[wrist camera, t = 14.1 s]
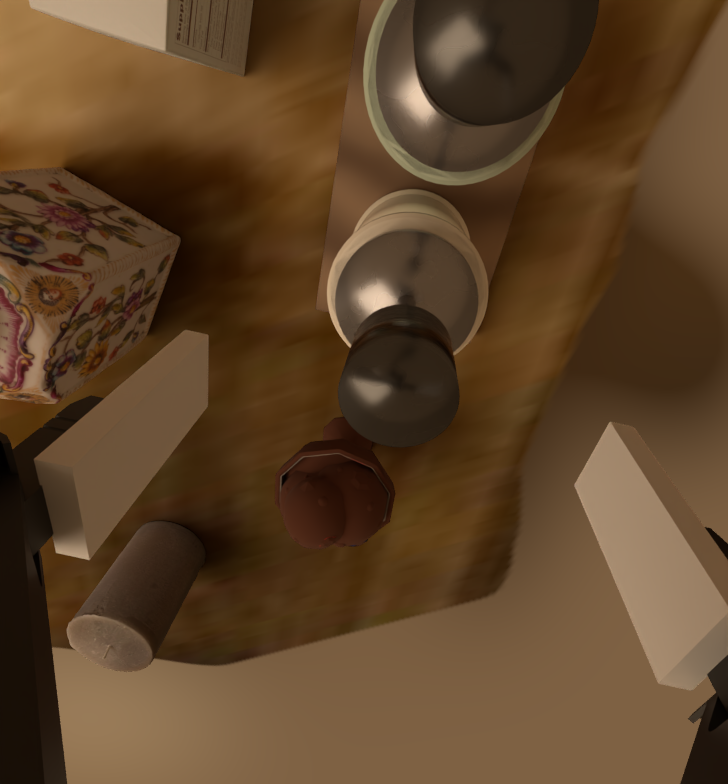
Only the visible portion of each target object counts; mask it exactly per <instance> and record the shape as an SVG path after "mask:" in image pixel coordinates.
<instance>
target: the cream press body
mask: <svg viewBox="0 0 728 784" xmlns="http://www.w3.org/2000/svg"><path fill="white" fill-rule="evenodd" d="M398 229H418V230H424V231H427V232H431V233H434V234H436V235H438V236H440V237H442V238H444V239H445V240H447V241H449V242H450V243H451V244H452V245H454V246H455V247H456V248H457V249H458V250H459V251H460V252H461V253H462V255H463V256H464V257H465V259H466V260H467V262H468V263H469V265H470V268H471V270H472V272H473V274H474V277H475V281H476V284H477V289H478V311H477V316H476V320H475V323H474V325H473V327H472V330H471V332H470V333H469V335H468V337H467V338H466V340H465V341H464V342H463V344H462V345H461V346H460V347H459V348H458V349H457V350H456V351H455V352H453V354H454V355H456V354H457V353H458V352H459V351H461V350H462V349H463V348H464V347H465V346H466V345H467V344H468V343H469V342H470V340H471V339H472V338H473V336H474V335H475V334H476V332H477V330H478V329H479V327H480V325H481V323H482V320H483V318H484V315H485V312H486V308H487V302H488V280H487V274H486V270H485V267H484V264H483V262H482V259H481V257H480V255H479V253H478V251H477V250H476V248H475V246H474V245H473V243H472V242H471V241H470V236H469V232H468V229H467V226H466V224H465V222H464V220H463V218H462V217H461V215H460V213H459V212H458V211H457V210H456V208H455V207H454V206H453V205H452V204H451V203H450V202H448V201H447V200H446V199H444V198H443V197H441V196H439V195H437V194H435V193H433V192H430V191H426V190H421V189H403V190H398V191H395V192H392V193H389V194H387V195H385V196H383V197H381V198H380V199H378V200H377V201H376V202H374V203H373V204H372V205H371V206H370V207H369V208H368V209H367V210H366V211H365V213H364V214H363V215H362V217H361V218H360V220H359V222H358V223H357V225H356V227H355V230H354V233H353V235H352V236H351V237H350V238H349V239H348V240H347V241H346V242H345V244H344V245H343V246H342V248H341V249H340V251H339V252H338V254H337V256H336V258H335V260H334V262H333V264H332V267H331V270H330V273H329V278H328V284H327V302H328V308H329V312H330V316H331V319H332V321H333V324H334V326H335V328H336V330H337V331H338V333H339V335H340V336H341V338H342V339H343V340H344V341H345V343H346V344H347V345H348V346H349V347H350V348H351V344H350V343H349V341H348V340H347V339H346V337H345V335H344V334H343V332H342V330H341V328H340V325H339V322H338V319H337V315H336V309H335V294H336V288H337V283H338V280H339V277H340V275H341V272H342V271H343V269H344V267H345V265H346V263H347V262H348V260H349V259H350V257H351V256H352V255H353V253H354V252H355V251H356V250H357V249H358V248H359V247H360V246H362V245H363V244H364V243H366V242H367V241H368V240H370V239H372V238H373V237H375V236H377V235H380V234H382V233H385V232H388V231H392V230H398Z"/></svg>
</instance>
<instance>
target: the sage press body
mask: <svg viewBox="0 0 728 784" xmlns="http://www.w3.org/2000/svg"><path fill="white" fill-rule="evenodd" d="M397 1H398V0H384V1H383V3H382V5H381V6H380V8H379V11H378V13H377V15H376V17H375V20H374V22H373V25H372V28H371V31H370V34H369V37H368V42H367V46H366V51H365V58H364V68H363V85H364V94H365V102H366V106H367V110H368V114H369V117H370V120H371V123H372V126H373V128H374V130H375V132H376V134H377V136H378V138H379V140H380V142H381V143H382V145H383V146H384V148H385V149H386V151H387V152H388V153H389V154H390V155H391V157H392V158H393V159H394V160H395V161H396V162H397V163H398V164H400V165H401V166H402V167H403V168H404V169H406V170H407V171H409V172H410V173H412V174H413V175H415V176H417V177H419V178H422V179H424V180H426V181H430V182H433V183H436V184H443V185H466V184H473V183H477V182H480V181H484V180H486V179H489V178H491V177H494V176H496V175H498V174H500V173H501V172H503V171H505V170H506V169H508V168H510V167H511V166H512V165H514V164H515V163H516V162H518V161H519V160H520V159H521V158H522V157H523V156H524V155H525V154H526V153H527V152H529V151H530V149H531V148H532V147H533V146H534V145H535V144H536V142H537V141H538V140H539V139H540V137H541V136H542V134H543V133H544V131H545V130H546V129H547V127H548V125H549V124H550V122H551V120H552V118H553V116H554V114H555V112H556V110H557V107H558V105H559V102H560V100H561V97H562V94H563V91H564V87H565V86H564V87H563V89H562V90H561V91H560V92H559V93H558V94H557V95H556V96H555V97H554V98H553V99H552V100H551V101H550V103H549V106H548V108H547V110H546V112H545V113H544V115H543V117H542V119H541V120H540V122H539V123H538V125H537V126H536V128H535V129H534V131H533V132H532V133H531V134H530V135H529V137H528V138H527V139H526V140H525V141H524V142H523V143H522V144H521V145H520V146H519V147H518V148H517V149H516V150H514V151H513V152H512V153H510V154H509V155H508V156H506V157H505V158H503V159H501V160H500V161H498V162H496V163H494V164H492V165H489V166H487V167H485V168H481V169H477V170H474V171H467V172H448V171H441V170H438V169H435V168H431V167H429V166H427V165H425V164H423V163H421V162H419V161H418V160H416V159H415V158H413V157H412V156H410V155H409V154H408V153H407V152H406V151H405V150H404V149H403V148H402V147H401V146H400V145H399V143H398V142H397V141H396V140H395V138H394V137H393V135H392V134H391V132H390V131H389V129H388V127H387V124H386V122H385V120H384V118H383V115H382V112H381V109H380V105H379V101H378V96H377V89H376V60H377V52H378V47H379V43H380V38H381V35H382V32H383V29H384V26H385V23H386V21H387V19H388V17H389V15H390V13H391V11H392V9H393V7H394V5H395V4H396V2H397Z"/></svg>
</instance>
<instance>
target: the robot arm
mask: <svg viewBox="0 0 728 784" xmlns="http://www.w3.org/2000/svg"><path fill="white" fill-rule="evenodd" d="M207 406H208V335H207V334H202V333H198V332H193V331H189V330H184V331H183V332H182V333H181V334H180V335H178V336H177V337H176V338H175V339H174V340H173V341H171V342H170V343H169V344H168V345H167V346H165V347H164V348H163V349H162V350H161V351H160V352H158V353H157V354H156V355H155V356H154V357H153V358H151V359H150V360H149V361H148V362H147V363H146V364H144V365H143V366H142V367H141V368H140V369H139V370H137V371H136V372H135V373H134V374H133V375H132V376H130V377H129V378H128V379H127V380H126V381H125V382H123V383H122V384H121V385H120V386H119V387H118V388H116V389H115V390H114V391H113V392H112V393H110V394H109V395H108V396H107V397H106V398H100V397H95V396H88V397H86V398H84V399H81V400H79V401H76V402H74V403H72V404H70V405H68V406H67V407H66V408H65V409H63V410H62V411H61V412H60V413H58V414H57V415H56V417H55V418H52V419H51V420H49V421H48V422H47V423H46V424H44V425H43V428H39V429H38V430H37V431H35V432H34V433H33V434H32V435H30V436H29V437H28V438H27V439H25V440H24V441H23V442H21V443H20V444H19V445H18V446H16V447H15V448H14V449H13V450H12V447H11V443H10V441H9V439H8V437H7V435H5V434H3V433H1V432H0V784H67V779H66V770H65V761H64V751H63V744H62V734H61V725H60V716H59V708H58V698H57V690H56V681H55V673H54V663H53V654H52V645H51V637H50V628H49V619H48V610H47V601H46V592H45V584H44V575H43V566H42V558H41V554H40V550H39V549H40V548H41V547H42V546H43V545H44V544H45V543H46V542H47V540H48V539H49V538H50V537H51V536H52V537H53V541H54V545H55V549H56V553H60V554H64V555H69V556H74V557H78V558H83V559H87V560H90V559H91V557H92V556H93V555H94V553H95V552H96V551H97V550H98V548H99V547H100V546H101V544H102V543H103V542H104V540H105V539H106V538H107V537H108V535H109V534H110V533H111V531H112V530H113V529H114V527H115V526H116V525H117V524H118V522H119V521H120V520H121V518H122V517H123V516H124V514H125V513H126V512H127V511H128V509H129V508H130V507H131V505H132V504H133V503H134V501H135V500H136V499H137V498H138V496H139V495H140V494H141V492H142V491H143V490H144V488H145V487H146V486H147V485H148V483H149V482H150V481H151V479H152V478H153V477H154V475H155V474H156V473H157V472H158V470H159V469H160V468H161V466H162V465H163V464H164V462H165V461H166V460H167V459H168V457H169V456H170V455H171V453H172V452H173V451H174V449H175V448H176V447H177V445H178V444H179V443H180V442H181V440H182V439H183V438H184V436H185V435H186V434H187V432H188V431H189V430H190V429H191V427H192V426H193V425H194V423H195V422H196V421H197V419H198V418H199V417H200V416H201V414H202V413H203V412H204V410H205V409H206V408H207ZM574 486H575V488H576V490H577V493H578V495H579V498H580V500H581V502H582V505H583V507H584V509H585V512H586V514H587V516H588V519H589V521H590V524H591V526H592V528H593V531H594V533H595V535H596V538H597V540H598V542H599V545H600V547H601V549H602V552H603V554H604V556H605V559H606V561H607V564H608V566H609V568H610V570H611V573H612V575H613V578H614V580H615V582H616V585H617V587H618V589H619V592H620V594H621V596H622V599H623V601H624V603H625V606H626V608H627V610H628V613H629V615H630V617H631V620H632V622H633V625H634V627H635V629H636V632H637V634H638V637H639V639H640V641H641V643H642V646H643V648H644V650H645V653H646V655H647V658H648V660H649V662H650V665H651V667H652V669H653V672H654V674H655V676H656V679H657V681H658V683H659V684H663V685H668V686H673V687H677V688H682V689H687V690H691V691H692V690H693V689H694V688H695V687H696V686H697V685H698V684H699V683H700V682H701V681H703V680H704V679H705V678H706V677H707V676H708V677H709V679H710V681H711V683H712V685H713V687H714V689H715V690H716V693H715V694H714V695H713V696H712V697H711V698H710V699H709V700H707V701H706V702H705V703H704V704H703V705H702V706H701V707H700V708H698V709H697V710H696V711H695V712H694V713H693V714H692V715H691V716H690V717H689V718H688V719H689V720H690V721H691V722H692V723H694V722H696V721H697V720H698V719H699V718H702V719H701V722H700V725H699V728H698V731H697V735H696V738H695V741H694V744H693V747H692V750H691V753H690V756H689V759H688V762H687V765H686V768H685V772H684V774H683V777H682V781H681V784H728V544H727V543H726V542H725V541H724V540H723V539H722V538H721V537H720V536H719V535H717V534H716V533H715V532H714V531H713V530H712V529H711V528H706V527H704V526H703V524H702V523H701V521H700V520H699V519H698V517H697V516H696V514H695V513H694V512H693V510H692V509H691V508H690V506H689V505H688V503H687V502H686V501H685V499H684V497H683V496H682V495H681V493H680V492H679V490H678V489H677V488H676V486H675V485H674V483H673V482H672V480H671V479H670V478H669V476H668V475H667V473H666V472H665V471H664V469H663V468H662V466H661V465H660V463H659V462H658V461H657V459H656V458H655V456H654V455H653V454H652V452H651V451H650V449H649V448H648V446H647V445H646V444H645V442H644V441H643V439H642V438H641V437H640V435H639V434H638V432H637V431H636V429H635V428H634V427H633V426H628V425H623V424H619V423H614V422H609V424H608V426H607V428H606V430H605V431H604V433H603V435H602V437H601V439H600V440H599V442H598V444H597V446H596V447H595V449H594V451H593V453H592V455H591V456H590V458H589V460H588V462H587V464H586V465H585V467H584V469H583V471H582V472H581V474H580V476H579V478H578V480H577V482H576V483H575V485H574Z"/></svg>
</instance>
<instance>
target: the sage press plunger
mask: <svg viewBox="0 0 728 784" xmlns="http://www.w3.org/2000/svg"><path fill="white" fill-rule="evenodd" d="M598 4H599V0H398V1H397V2H396V4H395V5H394V7H393V9H392V11H391V13H390V15H389V17H388V19H387V21H386V23H385V26H384V29H383V32H382V35H381V38H380V43H379V47H378V52H377V60H376V89H377V96H378V101H379V105H380V109H381V112H382V115H383V118H384V120H385V122H386V124H387V127H388V129H389V131H390V132H391V134H392V135H393V137H394V138H395V140H396V141H397V142H398V143H399V145H400V146H401V147H402V148H403V149H404V150H405V151H406V152H407V153H408V154H409V155H410V156H412V157H413V158H415V159H416V160H418V161H419V162H421V163H423V164H425V165H427V166H429V167H431V168H435V169H438V170H441V171H448V172H467V171H474V170H477V169H481V168H485V167H487V166H489V165H492V164H494V163H496V162H498V161H500V160H501V159H503V158H505V157H506V156H508V155H509V154H510V153H512V152H513V151H514V150H516V149H517V148H518V147H519V146H520V145H521V144H522V143H523V142H524V141H525V140H526V139H527V138H528V137H529V135H530V134H531V133H532V132H533V131H534V129H535V128H536V126H537V125H538V123H539V122H540V120H541V119H542V117H543V115H544V113H545V112H546V110H547V108H548V106H549V103H550V101H551V100H552V99H553V98H554V97H555V96H556V95H557V94H558V93H559V92H560V91H561V90H562V89H563V87H564V86H565V85H566V84H567V83H568V81H569V80H570V79H571V77H572V76H573V74H574V73H575V71H576V70H577V68H578V67H579V65H580V63H581V61H582V59H583V57H584V55H585V53H586V51H587V48H588V46H589V43H590V41H591V38H592V34H593V31H594V28H595V24H596V18H597V13H598Z"/></svg>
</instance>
